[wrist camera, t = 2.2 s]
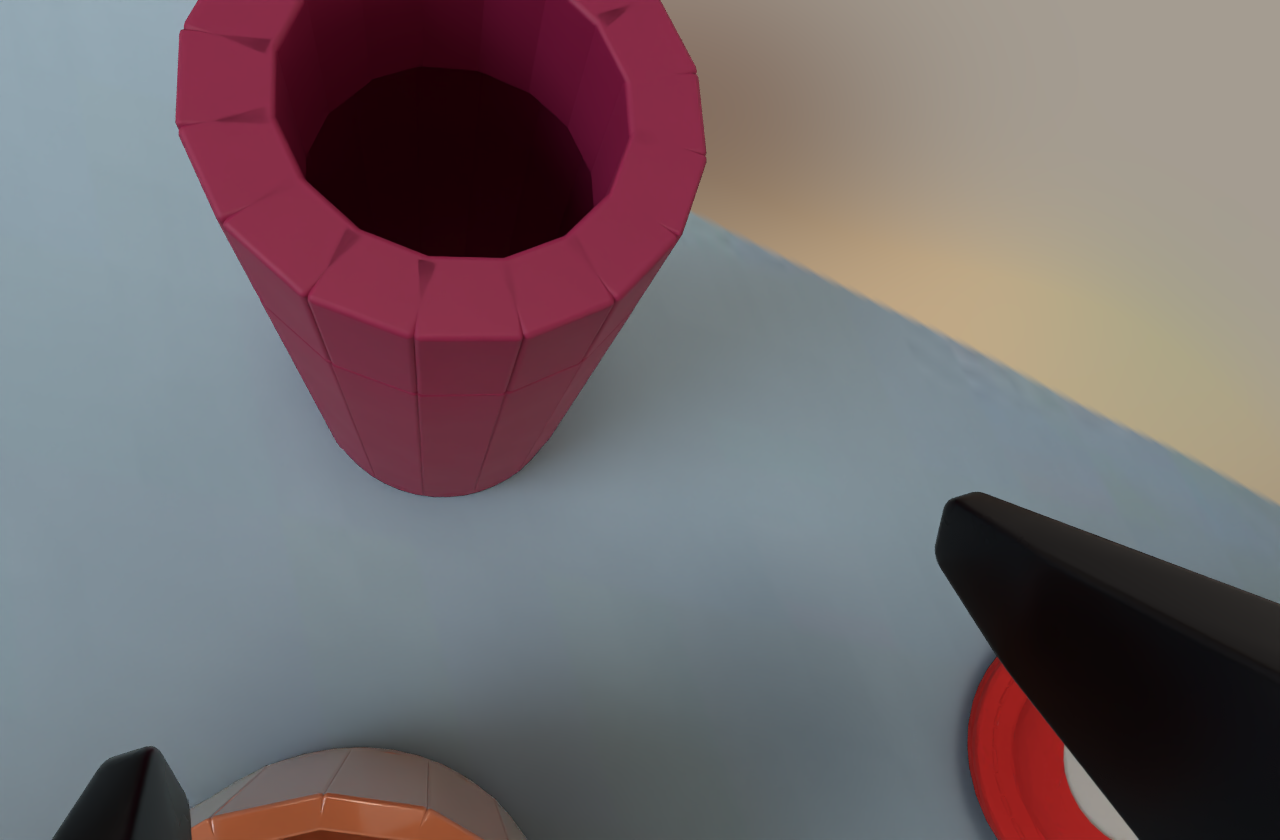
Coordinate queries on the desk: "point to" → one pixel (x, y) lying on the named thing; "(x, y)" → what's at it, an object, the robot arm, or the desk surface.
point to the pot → (353, 801)
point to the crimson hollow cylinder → (443, 205)
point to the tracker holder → (1031, 771)
